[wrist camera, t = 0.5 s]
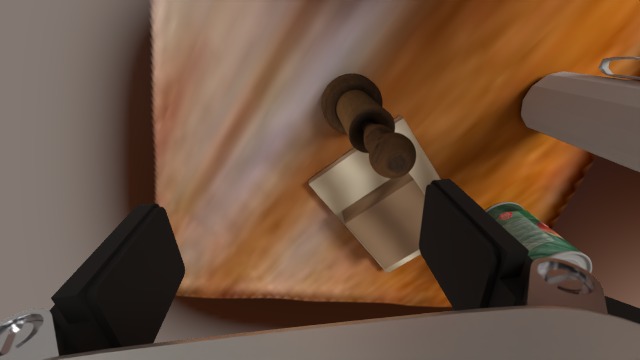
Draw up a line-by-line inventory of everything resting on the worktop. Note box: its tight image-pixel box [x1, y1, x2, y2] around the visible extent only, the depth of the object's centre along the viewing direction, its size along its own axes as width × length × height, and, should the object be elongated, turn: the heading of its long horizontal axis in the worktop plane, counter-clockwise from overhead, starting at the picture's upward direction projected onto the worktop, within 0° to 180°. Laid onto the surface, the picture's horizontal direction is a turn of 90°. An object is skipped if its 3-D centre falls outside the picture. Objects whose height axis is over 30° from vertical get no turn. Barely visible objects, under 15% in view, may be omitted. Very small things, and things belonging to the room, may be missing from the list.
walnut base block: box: [342, 173, 425, 269], centre depth 39 cm, size 10×10×3 cm
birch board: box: [308, 116, 441, 273], centre depth 40 cm, size 14×20×1 cm
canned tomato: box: [485, 202, 592, 273], centre depth 39 cm, size 8×8×11 cm
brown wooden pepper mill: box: [322, 74, 416, 179], centre depth 26 cm, size 7×6×18 cm
